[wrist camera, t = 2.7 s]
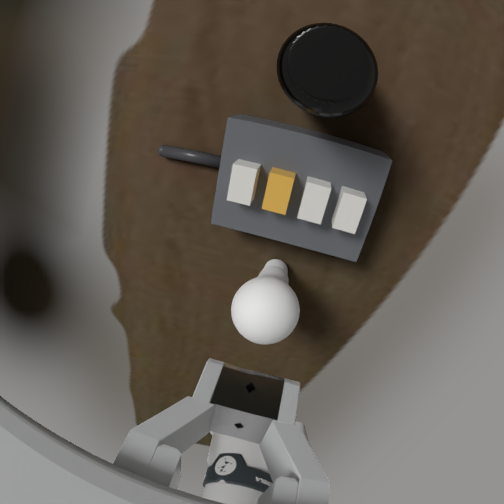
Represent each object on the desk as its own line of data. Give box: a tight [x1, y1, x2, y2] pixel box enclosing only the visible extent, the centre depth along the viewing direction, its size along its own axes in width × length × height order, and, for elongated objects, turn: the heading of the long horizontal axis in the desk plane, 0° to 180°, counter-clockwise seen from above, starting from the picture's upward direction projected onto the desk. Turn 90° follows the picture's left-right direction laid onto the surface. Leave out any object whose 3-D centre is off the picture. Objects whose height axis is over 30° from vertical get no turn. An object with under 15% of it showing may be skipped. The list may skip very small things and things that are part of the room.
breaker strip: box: [158, 114, 392, 262], centre depth 28 cm, size 22×10×6 cm, turn 79°
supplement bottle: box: [277, 23, 378, 117], centre depth 20 cm, size 7×7×12 cm
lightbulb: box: [231, 259, 300, 344], centre depth 31 cm, size 6×6×11 cm
